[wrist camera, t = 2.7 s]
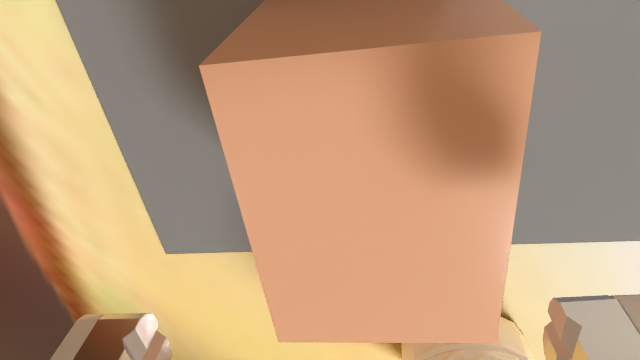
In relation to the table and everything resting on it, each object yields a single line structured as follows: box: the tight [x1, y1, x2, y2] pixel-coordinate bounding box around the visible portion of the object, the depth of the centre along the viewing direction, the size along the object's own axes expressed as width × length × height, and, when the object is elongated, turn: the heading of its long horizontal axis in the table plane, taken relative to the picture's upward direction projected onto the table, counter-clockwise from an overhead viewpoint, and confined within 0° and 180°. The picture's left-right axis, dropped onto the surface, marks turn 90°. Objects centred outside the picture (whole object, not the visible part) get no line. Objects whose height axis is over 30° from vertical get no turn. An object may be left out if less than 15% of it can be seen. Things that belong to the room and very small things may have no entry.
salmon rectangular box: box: [199, 0, 541, 343], centre depth 14 cm, size 7×9×7 cm
